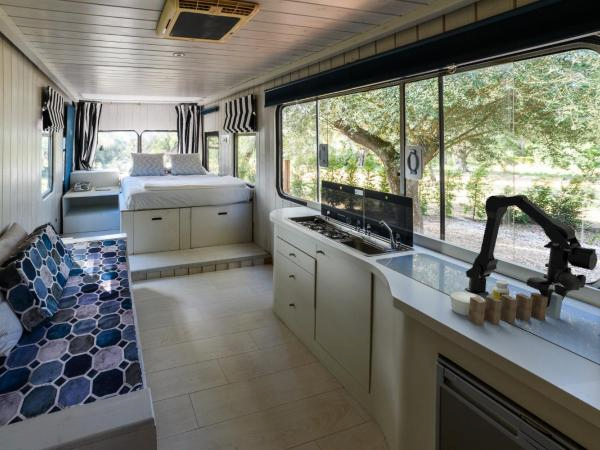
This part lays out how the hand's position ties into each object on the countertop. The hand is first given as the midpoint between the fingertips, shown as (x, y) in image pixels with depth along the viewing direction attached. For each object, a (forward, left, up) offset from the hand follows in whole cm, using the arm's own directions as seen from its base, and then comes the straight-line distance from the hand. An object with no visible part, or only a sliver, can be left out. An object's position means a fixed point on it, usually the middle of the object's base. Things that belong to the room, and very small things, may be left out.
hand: (552, 306), depth 143 cm
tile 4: (0, -24, -4) cm, 24 cm away
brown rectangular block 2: (0, -6, -4) cm, 7 cm away
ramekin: (-9, -27, -4) cm, 29 cm away
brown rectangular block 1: (0, -12, -4) cm, 12 cm away
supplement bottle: (-10, -13, -4) cm, 17 cm away
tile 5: (0, -30, -4) cm, 30 cm away
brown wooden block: (0, -18, -4) cm, 18 cm away
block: (0, 0, -4) cm, 4 cm away
